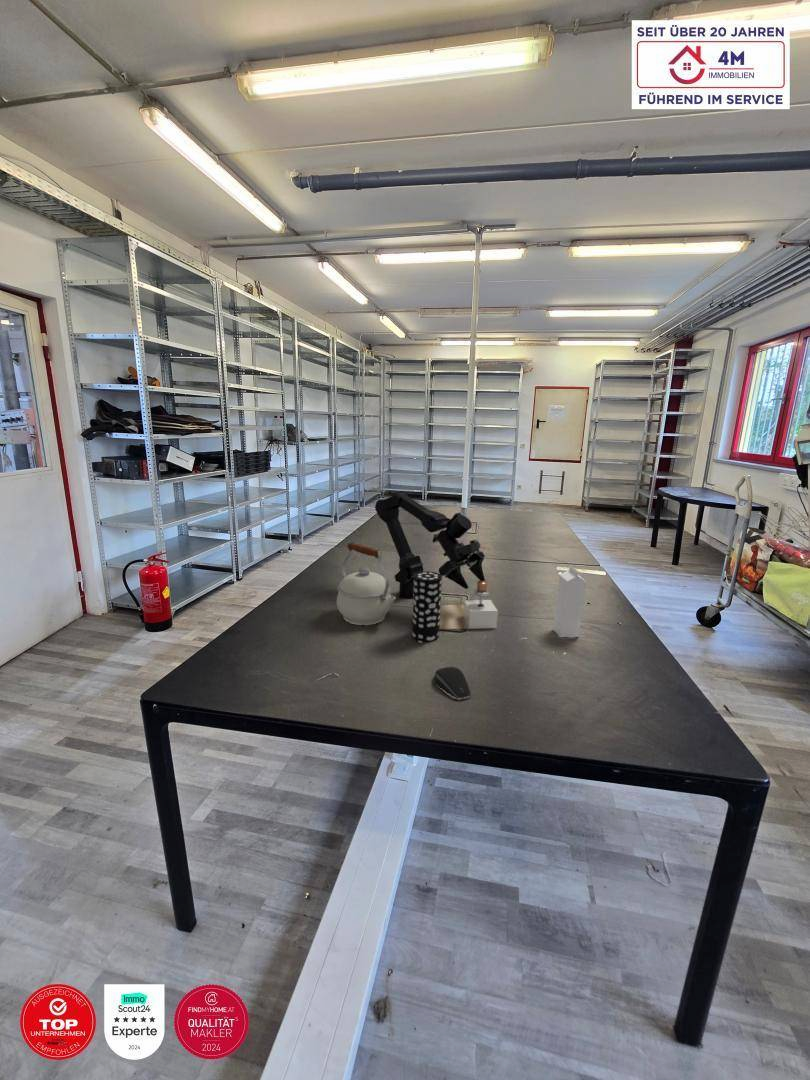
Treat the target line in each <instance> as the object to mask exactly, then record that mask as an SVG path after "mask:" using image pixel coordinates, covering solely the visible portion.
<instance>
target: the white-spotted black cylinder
mask: <svg viewBox="0 0 810 1080" xmlns="http://www.w3.org/2000/svg"><path fill="white" fill-rule="evenodd" d="M442 582H443V577H442V575H441V574H440V573H439V572H434V571H427V570H425V571H424V570H423V572H418V573H415V574H414V589H413V598H412V627H411V630H412V632H411V633H412V634H411V637H412V640H413V641H415V642H417V643H420V644H425V643H432V642H435V641H437V640H439V639H440V629H439V628H440V607H441V605H442V604H441V603H442V602H441V601H442V586H443V585H442Z"/></svg>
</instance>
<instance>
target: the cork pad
mask: <svg viewBox="0 0 810 1080" xmlns="http://www.w3.org/2000/svg"><path fill="white" fill-rule="evenodd" d="M463 614H464V604H441V607H440V628H439V630H453V629H455V630H456V629H457V630H460V629H461V630H462V629H465V630H466V629H467V630H468V629H471V630H472V629H474V630H475V629H480V628H468V625H467V623H466V621H465V619H464V617H463Z"/></svg>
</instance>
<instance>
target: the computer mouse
mask: <svg viewBox="0 0 810 1080" xmlns="http://www.w3.org/2000/svg"><path fill="white" fill-rule="evenodd" d="M435 681H436V683H437V685H438V686H439V687H440V688H442V689H443V690H445V691H446V692H447V693H449V694H451V695H452V696H454V697H456V698H464V697H467V696H470V695H471V696H472V692H471V690H470V686H469V684H468V682H467V680H466V678H465V675H464V673H463V671H462V670H460V668H458V667H454V666H447V667H443V668H439V669H437V670H435V673H434V682H435ZM436 683H435V684H436ZM437 685H436V686H437ZM438 686H437V687H438ZM439 687H438V688H439ZM440 688H439V689H440Z"/></svg>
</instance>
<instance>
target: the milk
mask: <svg viewBox="0 0 810 1080" xmlns="http://www.w3.org/2000/svg"><path fill="white" fill-rule="evenodd" d="M558 576H559V577H558V585H557V586H558V587H557V594H556V602H555V610H554V620H553V628H552V629H554V630H555V631H554V630H553V631H554V633H557V634H558V635H559V636H558V635H557V634H556V635H557V636H558V637H559V638H560V637H580V631H581V623H582V617H583V610H584V609H583V608H584V601H585V594H586V588H587V587H586V586H587V580H585V579H584V578H583V577H582V576H580V575H579V571H578V569H576V568H574V567H573V566H572V565H569V568H568V570H566V571H565V572H562V573H560V574H559V575H558Z"/></svg>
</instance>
